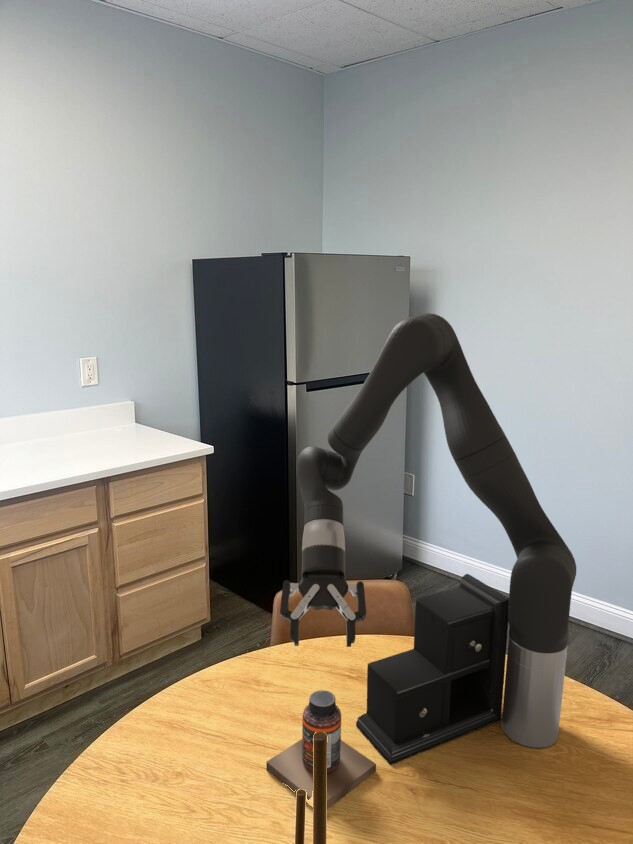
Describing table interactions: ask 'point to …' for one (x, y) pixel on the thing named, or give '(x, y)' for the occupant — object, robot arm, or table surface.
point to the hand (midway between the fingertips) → (322, 645)
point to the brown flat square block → (339, 781)
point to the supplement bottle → (321, 728)
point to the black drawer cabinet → (440, 674)
